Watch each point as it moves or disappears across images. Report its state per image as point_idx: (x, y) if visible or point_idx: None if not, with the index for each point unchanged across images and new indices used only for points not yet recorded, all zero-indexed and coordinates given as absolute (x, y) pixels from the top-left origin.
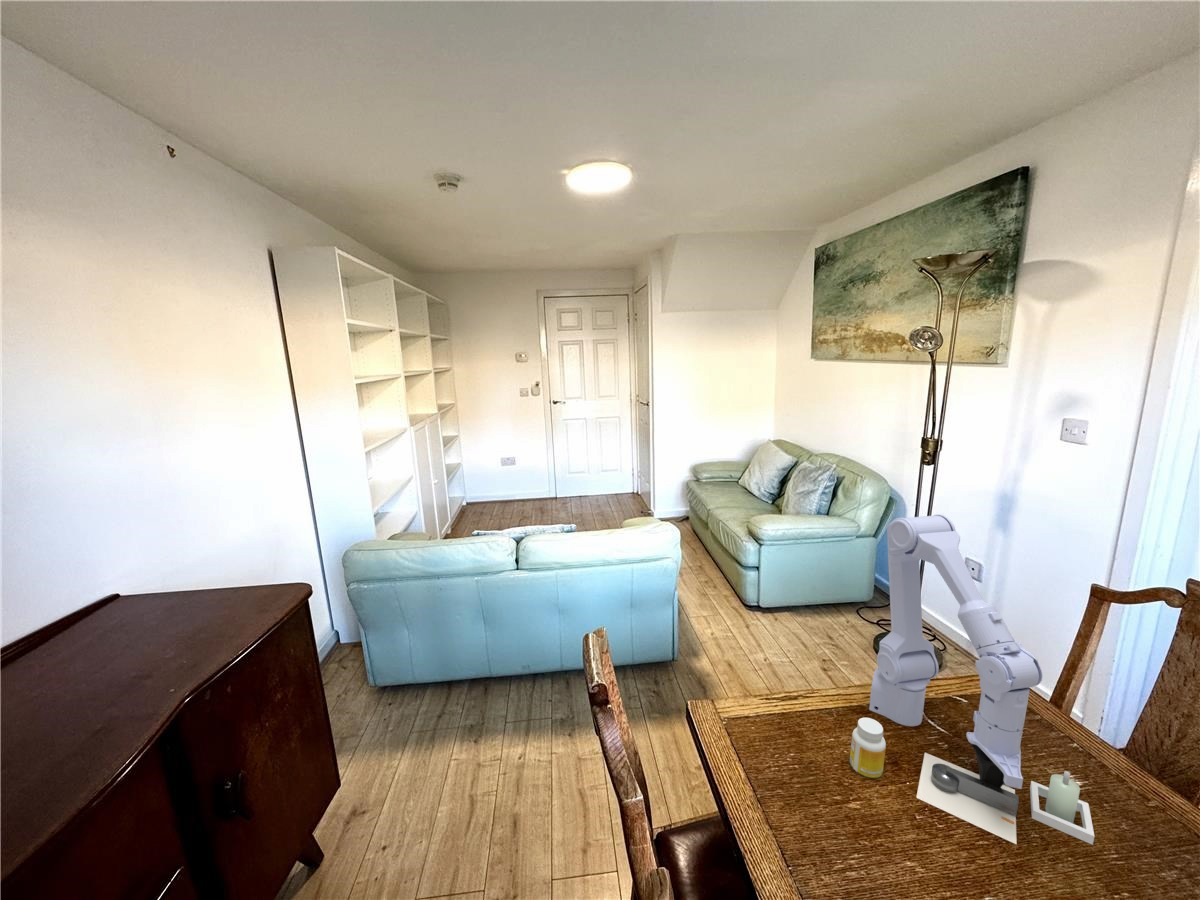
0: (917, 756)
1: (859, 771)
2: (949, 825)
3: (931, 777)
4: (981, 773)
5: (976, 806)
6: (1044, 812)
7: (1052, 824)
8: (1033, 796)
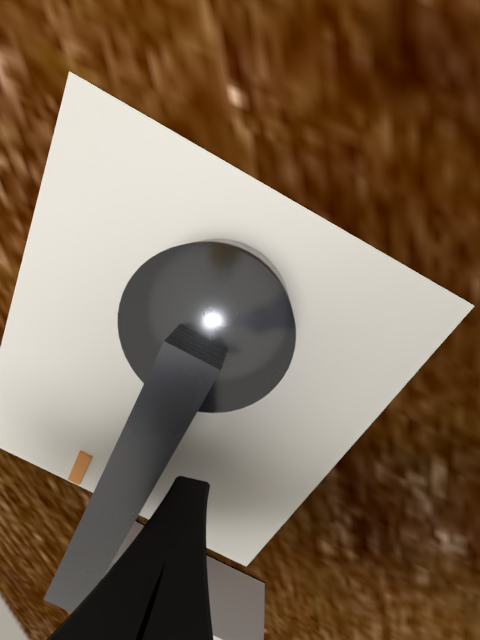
0: (459, 257)
1: None
2: (11, 225)
3: (229, 240)
4: (135, 568)
5: (115, 391)
6: None
7: None
8: None
